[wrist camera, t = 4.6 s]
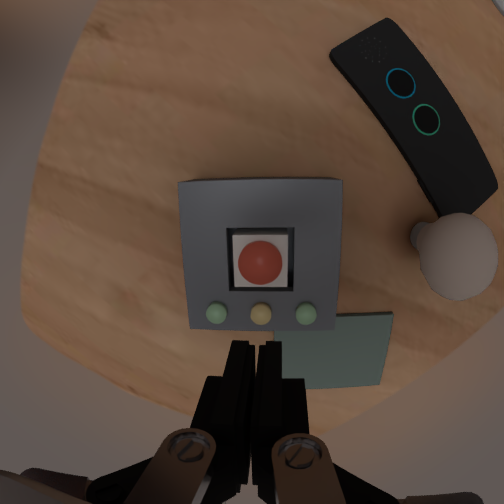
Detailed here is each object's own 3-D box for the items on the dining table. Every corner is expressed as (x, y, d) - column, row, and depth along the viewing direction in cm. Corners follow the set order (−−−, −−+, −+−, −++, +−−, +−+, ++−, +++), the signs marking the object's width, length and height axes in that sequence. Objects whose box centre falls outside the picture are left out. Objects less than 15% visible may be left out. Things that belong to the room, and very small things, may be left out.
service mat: (392, 311, 29) (393, 314, 29) (378, 381, 32) (379, 384, 31) (274, 314, 30) (274, 317, 30) (273, 385, 33) (273, 389, 32)
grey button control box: (331, 177, 27) (344, 180, 21) (326, 305, 30) (336, 335, 24) (194, 179, 28) (174, 182, 22) (202, 304, 31) (187, 333, 25)
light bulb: (454, 249, 27) (519, 287, 17) (401, 278, 28) (453, 332, 18) (434, 189, 26) (505, 204, 15) (378, 218, 27) (432, 248, 17)
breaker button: (286, 227, 26) (288, 236, 22) (286, 273, 27) (287, 290, 23) (237, 227, 26) (231, 237, 23) (239, 273, 27) (233, 289, 24)
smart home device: (390, 14, 21) (501, 186, 24) (385, 21, 22) (492, 184, 25) (326, 51, 22) (450, 233, 26) (323, 58, 24) (442, 229, 27)
